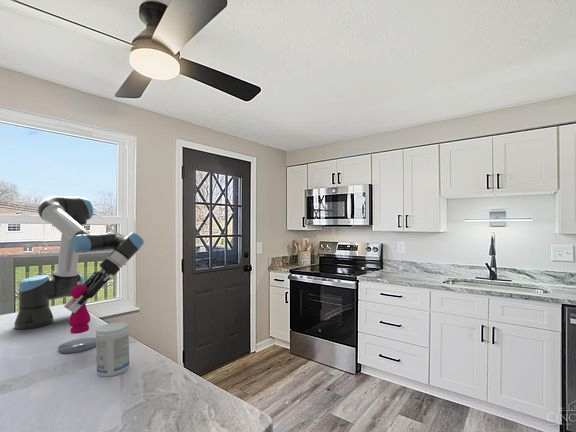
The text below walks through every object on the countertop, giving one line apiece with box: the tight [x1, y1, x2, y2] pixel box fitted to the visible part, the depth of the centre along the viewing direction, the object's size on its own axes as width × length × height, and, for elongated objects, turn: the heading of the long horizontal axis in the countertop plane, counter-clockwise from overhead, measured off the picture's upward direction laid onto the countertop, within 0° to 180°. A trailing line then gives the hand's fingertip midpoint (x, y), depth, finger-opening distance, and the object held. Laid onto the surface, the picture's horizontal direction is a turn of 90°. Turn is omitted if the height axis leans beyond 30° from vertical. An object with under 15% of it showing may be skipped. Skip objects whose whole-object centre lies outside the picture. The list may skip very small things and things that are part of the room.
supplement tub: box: [95, 321, 130, 378], centre depth 105 cm, size 10×10×15 cm
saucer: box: [57, 337, 96, 355], centre depth 127 cm, size 14×14×1 cm
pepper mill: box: [68, 281, 91, 335], centre depth 128 cm, size 7×7×20 cm
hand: (69, 309), depth 125 cm, fingers closed on pepper mill, 6 cm apart
